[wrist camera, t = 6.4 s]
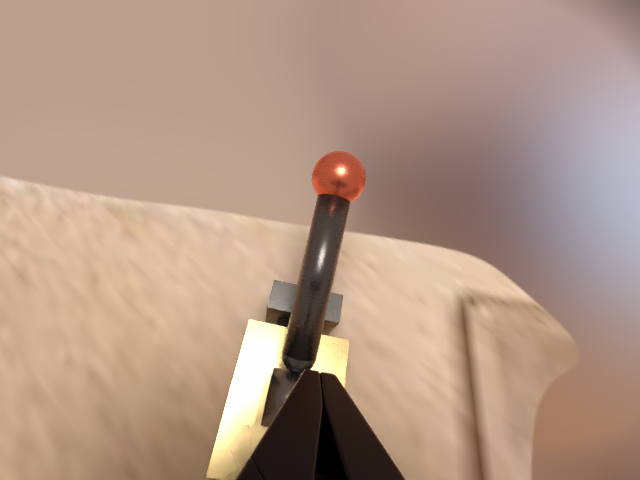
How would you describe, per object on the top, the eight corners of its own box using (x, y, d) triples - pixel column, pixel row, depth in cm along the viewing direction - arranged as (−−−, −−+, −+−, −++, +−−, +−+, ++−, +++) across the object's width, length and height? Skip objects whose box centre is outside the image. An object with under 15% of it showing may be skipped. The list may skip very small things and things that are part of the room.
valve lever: (313, 448, 13) (376, 150, 15) (250, 436, 13) (321, 136, 14) (309, 419, 16) (363, 168, 17) (257, 409, 16) (316, 156, 17)
